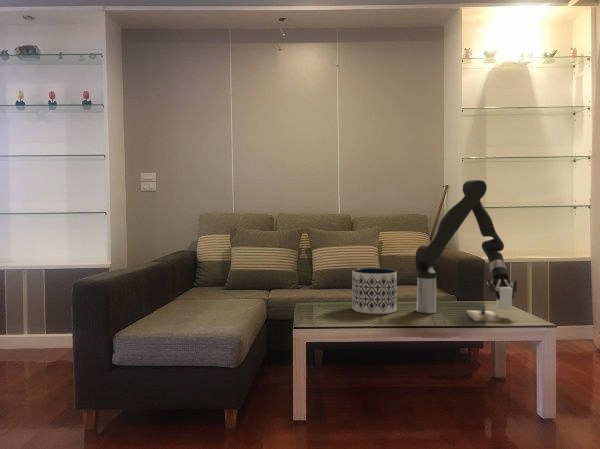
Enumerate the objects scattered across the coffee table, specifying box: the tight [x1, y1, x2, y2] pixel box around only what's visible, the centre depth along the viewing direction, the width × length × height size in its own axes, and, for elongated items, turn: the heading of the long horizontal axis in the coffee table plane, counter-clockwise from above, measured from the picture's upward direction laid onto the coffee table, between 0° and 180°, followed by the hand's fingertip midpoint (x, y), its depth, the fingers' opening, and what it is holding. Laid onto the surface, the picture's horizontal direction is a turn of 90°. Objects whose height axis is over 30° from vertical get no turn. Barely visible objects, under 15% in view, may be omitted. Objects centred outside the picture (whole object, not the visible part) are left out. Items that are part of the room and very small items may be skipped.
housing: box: [495, 286, 513, 310], centre depth 237 cm, size 5×5×10 cm
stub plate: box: [465, 304, 502, 322], centre depth 238 cm, size 12×16×6 cm
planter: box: [351, 267, 398, 315], centre depth 254 cm, size 22×22×20 cm
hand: (505, 299), depth 236 cm, fingers closed on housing, 5 cm apart
